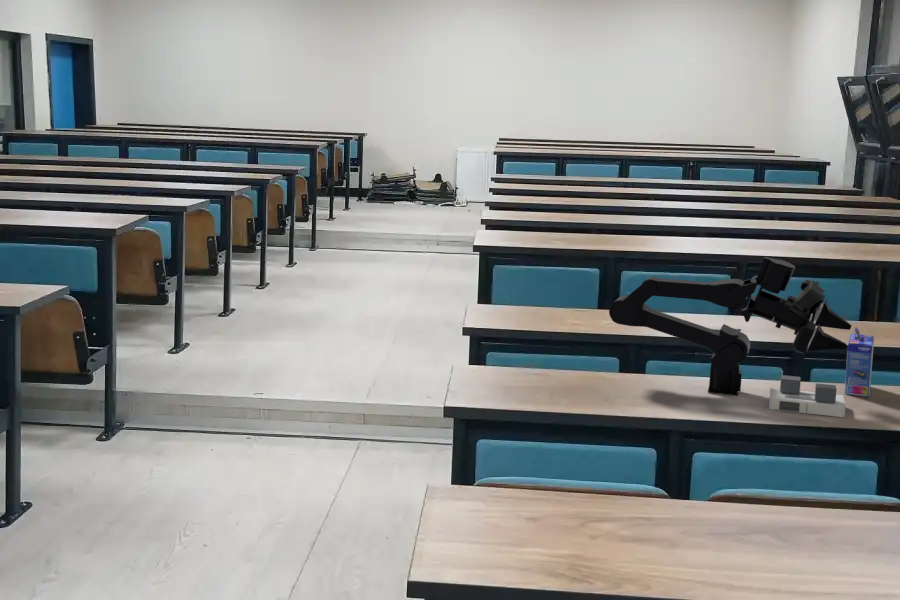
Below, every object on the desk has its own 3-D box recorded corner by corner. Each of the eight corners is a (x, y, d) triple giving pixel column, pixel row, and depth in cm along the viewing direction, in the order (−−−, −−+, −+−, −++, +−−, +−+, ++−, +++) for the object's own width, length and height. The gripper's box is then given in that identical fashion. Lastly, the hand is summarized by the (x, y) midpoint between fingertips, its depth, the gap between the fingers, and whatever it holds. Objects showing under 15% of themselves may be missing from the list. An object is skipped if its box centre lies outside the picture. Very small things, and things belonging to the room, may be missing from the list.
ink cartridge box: (844, 383, 224) (851, 323, 221) (870, 386, 221) (877, 325, 218) (842, 394, 215) (849, 332, 212) (869, 397, 213) (876, 335, 210)
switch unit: (769, 409, 203) (770, 398, 203) (769, 398, 211) (770, 387, 210) (844, 418, 199) (845, 406, 198) (841, 406, 206) (843, 394, 206)
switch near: (814, 400, 201) (816, 387, 200) (814, 396, 204) (815, 383, 203) (835, 402, 200) (836, 389, 199) (834, 398, 202) (835, 385, 202)
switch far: (779, 392, 206) (781, 378, 206) (779, 388, 209) (781, 375, 209) (799, 394, 205) (800, 380, 205) (799, 390, 208) (800, 376, 207)
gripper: (783, 297, 196) (859, 325, 192) (797, 262, 211) (867, 287, 207) (764, 340, 202) (838, 369, 198) (779, 303, 217) (847, 329, 213)
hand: (848, 337), depth 204 cm, fingers open, 9 cm apart
